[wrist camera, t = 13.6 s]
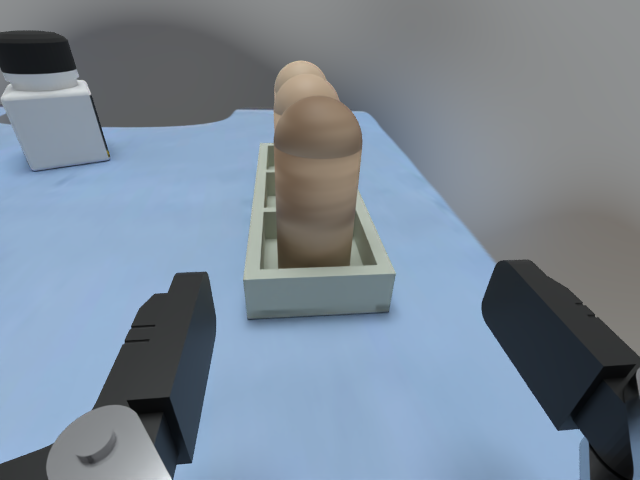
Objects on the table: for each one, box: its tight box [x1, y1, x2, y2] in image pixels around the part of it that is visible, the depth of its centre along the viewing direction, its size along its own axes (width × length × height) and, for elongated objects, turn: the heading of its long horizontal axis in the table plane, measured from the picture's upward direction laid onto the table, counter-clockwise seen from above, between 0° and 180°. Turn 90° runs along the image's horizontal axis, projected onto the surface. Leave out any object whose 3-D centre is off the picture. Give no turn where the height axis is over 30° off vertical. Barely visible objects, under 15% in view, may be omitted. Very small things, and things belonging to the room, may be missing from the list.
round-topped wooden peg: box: [274, 96, 362, 269], centre depth 20 cm, size 5×5×10 cm
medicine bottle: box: [0, 31, 110, 171], centre depth 36 cm, size 7×7×12 cm
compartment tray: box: [243, 61, 396, 319], centre depth 26 cm, size 22×8×11 cm, turn 6°
